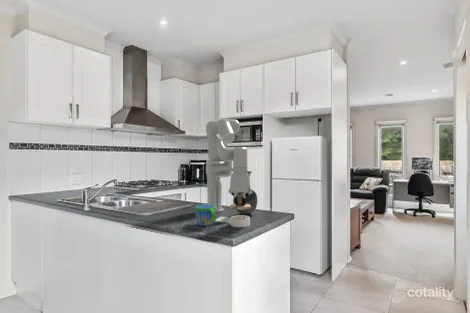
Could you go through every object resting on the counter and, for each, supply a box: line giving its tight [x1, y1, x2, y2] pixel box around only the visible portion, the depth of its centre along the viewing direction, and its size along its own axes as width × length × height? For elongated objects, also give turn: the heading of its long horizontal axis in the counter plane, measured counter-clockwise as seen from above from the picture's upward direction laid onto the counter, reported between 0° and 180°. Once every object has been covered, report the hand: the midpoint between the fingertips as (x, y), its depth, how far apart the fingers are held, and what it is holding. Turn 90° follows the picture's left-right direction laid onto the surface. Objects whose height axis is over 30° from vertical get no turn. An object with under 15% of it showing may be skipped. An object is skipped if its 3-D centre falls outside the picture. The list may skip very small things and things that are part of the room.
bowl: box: [229, 214, 251, 228], centre depth 155 cm, size 10×10×4 cm
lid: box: [229, 196, 251, 210], centre depth 155 cm, size 11×11×6 cm
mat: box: [214, 216, 231, 224], centre depth 167 cm, size 12×12×1 cm
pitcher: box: [232, 170, 258, 217], centre depth 178 cm, size 11×19×30 cm, turn 145°
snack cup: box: [194, 204, 217, 227], centre depth 156 cm, size 16×10×10 cm
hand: (240, 205), depth 155 cm, fingers closed on lid, 3 cm apart
